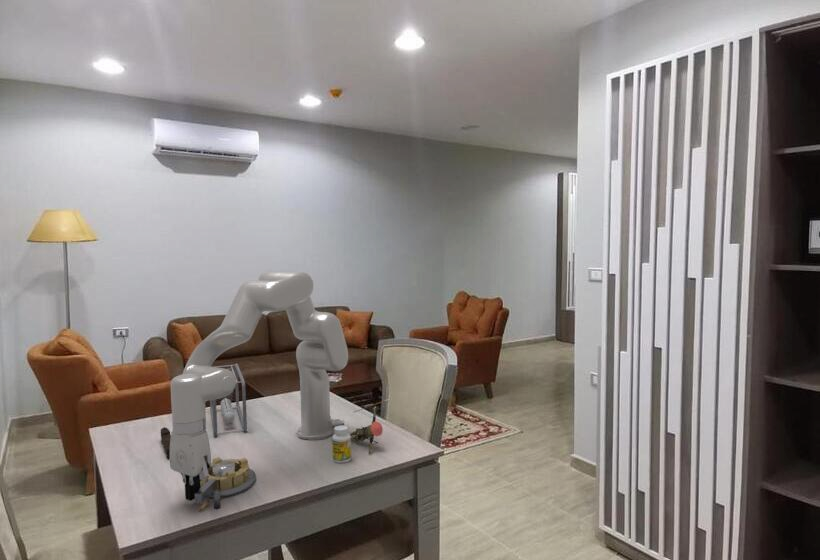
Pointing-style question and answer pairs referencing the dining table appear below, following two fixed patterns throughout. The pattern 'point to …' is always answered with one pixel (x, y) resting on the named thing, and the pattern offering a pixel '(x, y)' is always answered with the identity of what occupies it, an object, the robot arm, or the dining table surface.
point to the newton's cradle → (227, 407)
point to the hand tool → (166, 441)
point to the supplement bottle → (341, 444)
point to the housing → (217, 495)
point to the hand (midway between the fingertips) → (193, 497)
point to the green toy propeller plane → (368, 430)
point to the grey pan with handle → (223, 479)
